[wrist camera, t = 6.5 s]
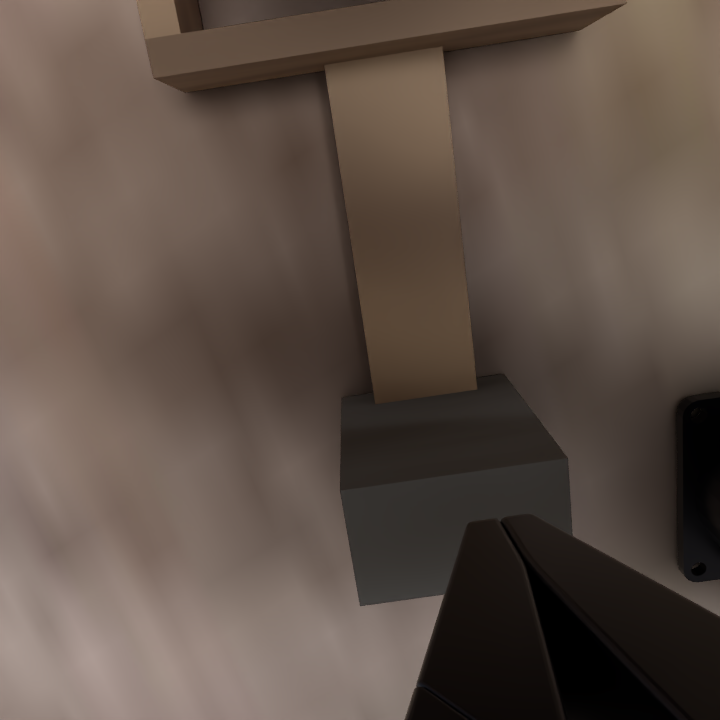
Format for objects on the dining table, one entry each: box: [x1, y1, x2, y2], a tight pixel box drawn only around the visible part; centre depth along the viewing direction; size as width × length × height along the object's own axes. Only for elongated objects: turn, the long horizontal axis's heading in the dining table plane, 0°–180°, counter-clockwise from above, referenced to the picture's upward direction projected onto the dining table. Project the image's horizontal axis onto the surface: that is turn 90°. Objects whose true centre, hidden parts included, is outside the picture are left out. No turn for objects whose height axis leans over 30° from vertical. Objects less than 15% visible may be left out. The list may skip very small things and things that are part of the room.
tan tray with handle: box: [136, 0, 627, 606], centre depth 15 cm, size 23×11×6 cm, turn 8°
